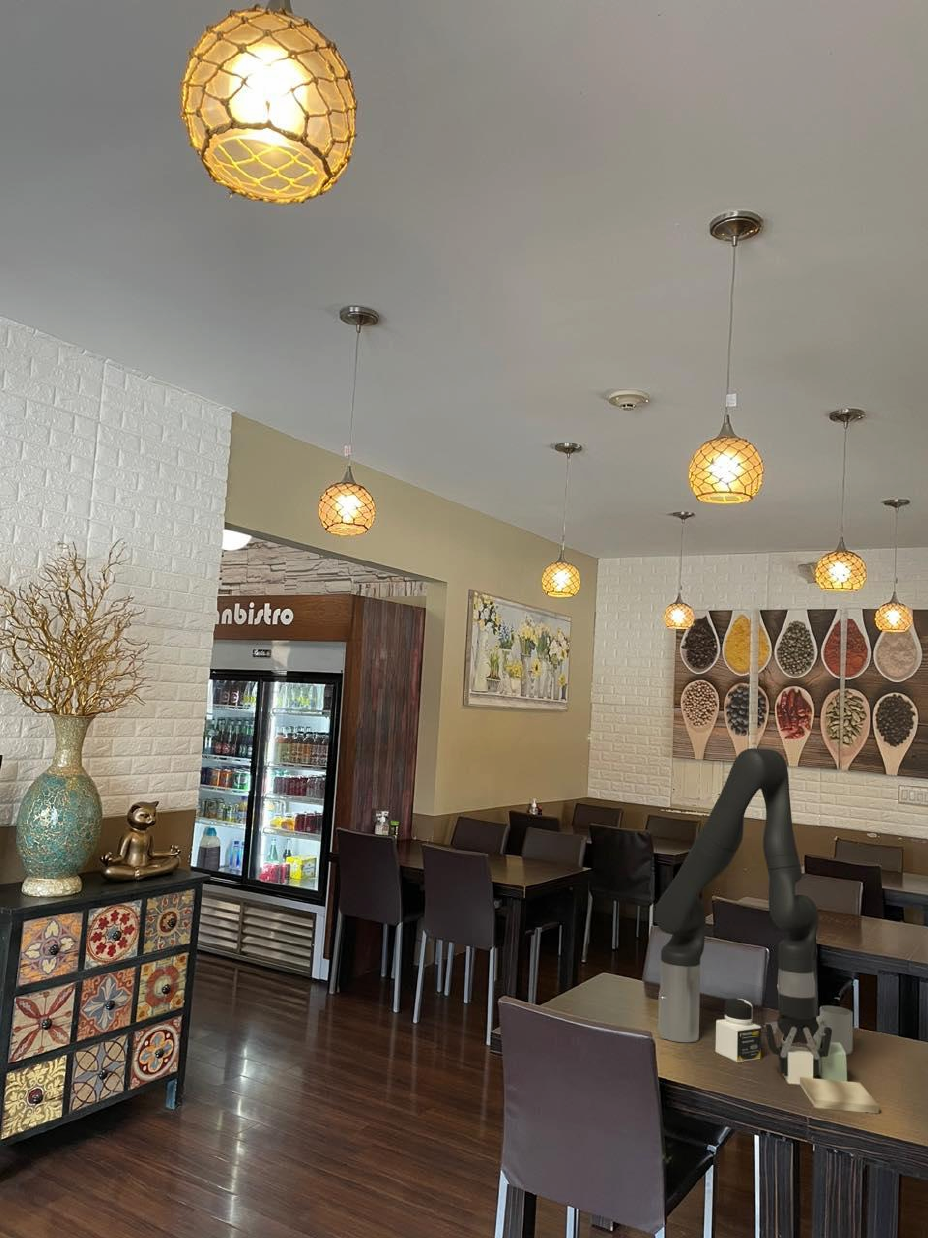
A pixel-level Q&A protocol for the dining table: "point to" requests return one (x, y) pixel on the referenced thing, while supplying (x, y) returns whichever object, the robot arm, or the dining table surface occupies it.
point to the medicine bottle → (738, 1032)
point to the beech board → (838, 1095)
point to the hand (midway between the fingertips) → (799, 1075)
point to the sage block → (833, 1063)
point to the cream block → (799, 1064)
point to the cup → (837, 1025)
